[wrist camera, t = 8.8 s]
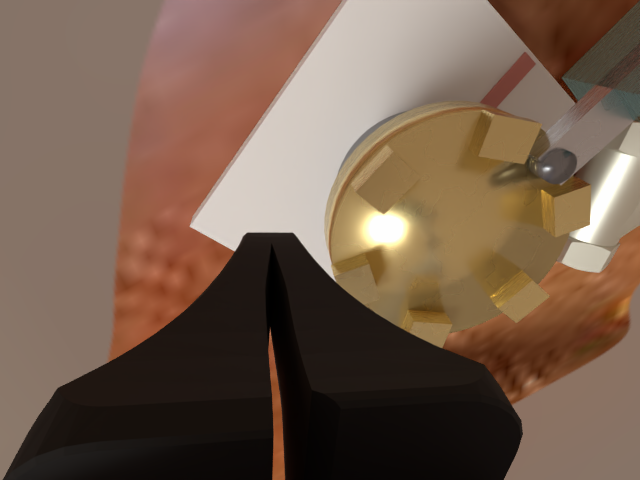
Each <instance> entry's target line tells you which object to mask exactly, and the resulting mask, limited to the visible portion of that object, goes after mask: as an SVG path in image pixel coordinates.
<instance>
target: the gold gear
mask: <svg viewBox="0 0 640 480" xmlns="http://www.w3.org/2000/svg"><path fill="white" fill-rule="evenodd" d="M561 78H562V79H563V80H564V82H565V83H566V85H567V86H568V87H569V89H570V90H571V92H572V93H573V94H574V96H575V97H576V99H577V100H578V102H577V103H576V104H575V105H574V106H573V107H572V108H570V109H569V110H568V111H567V112H566V113H565V114H564V115H563V116H562V117H561V118H560V119H559V120H558V121H557V122H556V123H555V124H554V125H553V126H551V127H550V128H549V129H548V130H547V131H546V132H545V131H544V130H542V129H541V126H542V124H541V123H539V122H536V121H534V120H531V119H529V118H524V117H519V116H515V115H512V114H510V113H508V112H505V111H503V110H500V109H498V108H495V107H493V106H489V105H486V104H482V103H479V102H471V101H443V102H437V103H431V104H427V105H424V106H421V107H417V108H414V109H412V110H409V111H407V112H405V113H403V114H400V115H398V116H396V117H395V118H393V119H391V120H390V121H388V122H386V123H385V124H383V125H382V126H380V127H379V128H378V129H376V130H375V131H374V132H373V133H371V134H370V135H369V136H368V137H367V138H366V139H365V140H364V141H363V142H362V143H361V144H360V145H359V146H358V147H357V148H356V149H355V150H354V151H353V153H352V154H351V155H350V156H349V158H348V159H347V160H346V161H345V163H344V165H343V166H342V168H341V170H340V171H339V173H338V175H337V177H336V179H335V181H334V183H333V186H332V188H331V190H330V194H329V197H328V201H327V204H326V211H325V217H324V233H325V240H326V246H327V249H328V253H329V256H330V259H331V263H332V265H331V268H332V271H333V275H334V278H335V280H336V282H337V283H338V284H339V285H340V286H341V287H342V288H343V289H344V290H345V291H347V292H348V293H349V294H350V295H352V296H353V297H354V298H356V299H357V300H358V301H360V302H361V303H362V304H364V305H365V306H366V307H368V308H369V309H371V310H372V311H374V312H375V313H376V314H378V315H380V316H381V317H383V318H385V319H386V320H388V321H390V322H391V323H393V324H394V325H396V326H398V327H400V328H402V329H403V330H405V331H407V332H409V333H411V334H413V335H415V336H417V337H419V338H421V339H423V340H425V341H427V342H429V343H431V344H433V345H436V346H438V347H440V348H442V347H443V345H444V343H445V341H446V338H447V336H448V334H449V333H452V332H458V331H461V330H464V329H468V328H471V327H474V326H476V325H479V324H481V323H484V322H486V321H488V320H490V319H492V318H494V317H496V316H498V315H500V314H501V313H504V314H506V315H507V316H508V317H509V318H511V319H512V320H513V321H514V322H515V323H517V322H519V321H520V320H521V319H522V318H524V317H525V316H526V315H527V314H529V313H530V312H531V311H532V310H534V309H535V308H536V307H537V306H539V305H540V304H541V303H542V302H544V301H545V300H546V299H547V298H549V297H550V296H549V295H548V294H547V293H546V292H545V291H544V290H543V289H542V288H541V287H540V286H539V285H538V284H539V283H540V281H541V280H542V279H543V278H544V277H545V276H546V274H547V273H548V272H549V271H550V269H551V268H552V267H553V265H554V264H555V262H556V260H557V259H558V257H559V256H560V254H561V252H562V250H563V248H564V246H565V244H566V242H567V240H568V237H569V234H570V232H572V231H575V230H578V229H581V228H584V227H587V226H589V225H590V216H591V184H589V183H587V182H585V181H583V180H581V179H579V178H577V177H575V178H574V174H575V173H576V172H577V171H578V170H579V169H580V168H581V167H583V166H584V165H585V164H586V163H587V162H588V161H589V160H590V159H592V158H593V157H594V156H595V155H596V154H597V153H598V152H599V151H601V150H602V149H603V148H604V147H605V146H606V145H607V144H608V143H610V142H611V141H612V140H613V139H614V138H615V137H616V136H617V135H619V134H620V133H621V132H622V131H623V130H624V129H625V128H626V127H628V126H629V125H630V124H631V123H632V122H633V121H636V122H640V1H639V2H638V3H637V4H636V5H635V6H634V7H633V8H632V9H631V10H629V11H628V12H627V13H626V14H625V15H624V16H623V17H622V18H621V19H620V20H619V21H618V22H617V23H616V24H615V25H614V26H613V27H612V28H611V29H610V30H609V31H608V32H607V33H606V34H605V35H604V36H603V37H602V38H601V39H600V40H599V41H598V42H597V43H596V44H595V45H594V46H593V47H592V48H591V49H590V50H589V51H588V52H587V53H586V54H585V55H584V56H583V57H582V58H581V59H580V60H579V61H578V62H577V63H575V64H574V65H573V66H572V67H571V68H570V69H569V70H568V71H567V72H566V73H565V74H564V75H563V76H562V77H561Z"/></svg>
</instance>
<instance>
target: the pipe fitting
mask: <svg viewBox="0 0 640 480" xmlns="http://www.w3.org/2000/svg"><path fill="white" fill-rule="evenodd" d="M575 177H577V178H579V179H581V180H583V181H585V182H587V183H589V184H591V216H590V225H589V226H587V227H584V228H581V229H578V230H575V231H572V232H570V234H569V237H568V240H567V242H566V244H565V246H564V248H563V250H562V252H561V254H560V256H559V257H558V259H557V260H556V261H558V262H560V263H562V264H564V265H566V266H569V267H572V268H575V269H578V270H582V271H587V272H599V273H600V272H601V271H603V270H604V269H605V268H606V266H607V265H608V264H609V263H610V261H611V259H612V257H613V256H614V254H615V252H616V250H617V249H618V247H619V245H620V243H619V242H618V241H619V240H620V238H621V237H622V236H624V235H625V234H627V233H628V232H630V231H631V230H633V229H635V228H636V227H638V226H639V225H640V122H636V121H633V122H632V123H631V124H630V125H629V126H628V127H626V128H625V129H624V130H623V131H622V132H621V133H620V134H619V135H617V136H616V137H615V138H614V139H613V140H612V141H611V142H610V143H608V144H607V145H606V146H605V147H604V148H603V149H602V150H601V151H599V152H598V153H597V154H596V155H595V156H594V157H593V158H592V159H590V160H589V161H588V162H587V163H586V164H585V165H584V166H583V167H581V168H580V169H579V170H578V171H577V173H576V175H575ZM575 177H574V178H575Z"/></svg>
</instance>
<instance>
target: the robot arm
mask: <svg viewBox="0 0 640 480" xmlns="http://www.w3.org/2000/svg"><path fill="white" fill-rule="evenodd" d="M270 329H271V336H272V343H273V350H274V357H275V363H276V370H277V377H278V383H279V390H280V397H281V407H282V420H283V441H284V463H285V480H504V478H505V476H506V474H507V472H508V470H509V468H510V466H511V463H512V462H513V460H514V457H515V455H516V453H517V451H518V448H519V445H520V440H521V438H522V435H523V432H522V423H521V419H520V418H519V416H518V415H517V413H516V412H515V410H514V408H513V407H512V405H511V403H510V402H509V400H508V398H507V397H506V395H505V394H504V392H503V390H502V389H501V387H500V386H499V384H498V383H497V381H496V380H495V379H494V377H493V376H492V375H491V373H490V372H489V371H488V369H487V368H486V367H485V365H483V364H481V363H478V362H476V361H473V360H470V359H468V358H465V357H463V356H460V355H458V354H455V353H453V352H450V351H448V350H445V349H443V348H440V347H438V346H436V345H433V344H431V343H429V342H427V341H425V340H423V339H421V338H419V337H417V336H415V335H413V334H411V333H409V332H407V331H405V330H403V329H402V328H400V327H398V326H396V325H394V324H393V323H391V322H390V321H388V320H386V319H385V318H383V317H381V316H380V315H378V314H376V313H375V312H374V311H372V310H371V309H369V308H368V307H366V306H365V305H364V304H362V303H361V302H360V301H358V300H357V299H356V298H354V297H353V296H352V295H350V294H349V293H348V292H347V291H345V290H344V289H343V288H342V287H341V286H340V285H339V284H338V283H337V282H335V281H334V280H333V279H332V278H331V277H330V276H329V275H328V274H327V273H326V271H325V270H324V269H323V268H322V267H321V266H320V265H319V264H318V263H317V262H316V260H315V259H314V258H313V257H312V256H311V254H310V253H309V252H308V251H307V249H306V248H305V247H304V246H303V244H302V243H301V242H300V240H299V239H298V237H297V236H296V235H295V234H294V233H279V232H247V233H246V234H245V235H244V236H243V237H242V240H241V242H240V244H239V246H238V247H237V249H236V251H235V252H234V254H233V256H232V257H231V259H230V260H229V261H228V263H227V264H226V266H225V267H224V268H223V270H222V271H221V272H220V274H219V275H218V276H217V277H216V278H215V280H214V281H213V282H212V283H211V284H210V285H209V287H208V288H207V289H206V290H205V291H204V292H203V293H202V294H201V295H200V296H199V297H198V298H197V299H196V300H195V301H194V302H193V303H192V304H191V305H190V306H189V307H188V308H187V309H186V310H185V311H184V312H183V313H181V314H180V315H179V316H178V317H176V318H175V319H174V320H173V321H171V322H170V323H169V324H168V325H166V326H165V327H164V328H162V329H161V330H160V331H158V332H157V333H156V334H154V335H153V336H151V337H150V338H148V339H147V340H145V341H144V342H142V343H141V344H139V345H137V346H136V347H134V348H132V349H131V350H129V351H127V352H126V353H124V354H123V355H121V356H119V357H117V358H116V359H114V360H112V361H110V362H109V363H107V364H105V365H103V366H101V367H99V368H97V369H95V370H93V371H91V372H89V373H87V374H85V375H83V376H81V377H79V378H77V379H75V380H74V381H71V382H69V383H67V384H65V385H63V386H61V387H59V388H58V389H57V390H56V391H55V393H54V395H53V396H52V398H51V399H50V401H49V402H48V403H47V405H46V406H45V408H44V409H43V410H42V412H41V413H40V415H39V416H38V418H37V419H36V421H35V423H34V424H33V426H32V427H31V429H30V431H29V432H28V434H27V436H26V438H25V440H24V442H23V443H22V445H21V447H20V449H19V451H18V453H17V454H16V456H15V458H14V460H13V462H12V464H11V466H10V467H9V469H8V471H7V473H6V475H5V477H4V479H3V480H272V469H273V409H272V391H271V380H270V368H269V355H268V346H269V333H270Z"/></svg>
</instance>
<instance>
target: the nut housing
mask: <svg viewBox="0 0 640 480" xmlns="http://www.w3.org/2000/svg"><path fill="white" fill-rule="evenodd" d="M443 101H471V102H479V103H482V104H486V105H489V106H493V107H495V108H498V109H500V110H503V111H505V112H508V113H510V114H512V115H515V116H519V117H524V118H529V119H531V120H534V121H536V122H539V123H541V124H542V126H541V129H542V130H544V131H545V132H546V131H547V130H548V129H549V128H550V127H551V126H553V125H554V124H555V123H556V122H557V121H558V120H559V119H560V118H561V117H562V116H563V115H564V114H565V113H566V112H567V111H568V110H569V109H570V108H572V107H573V106H574V105H575V104H576V103H575V102H574V101H573V100H572V99H571V98H570V96H569V95H568V94H567V93H566V92H565V91H564V89H563V88H562V87H561V86H560V85H559V84H558V82H557V81H556V80H555V79H554V78H553V77H552V75H551V74H550V73H549V72H548V71H547V70H546V68H545V67H544V66H543V65H542V64H541V63H540V61H539V60H538V59H537V58H536V57H535V55H534V54H533V53H532V52H531V51H530V50H529V48H528V47H527V46H526V45H525V44H524V43H523V41H522V40H521V39H520V38H519V37H518V36H517V34H516V33H515V32H514V31H513V30H512V29H511V27H510V26H509V25H508V24H507V23H506V22H505V20H504V19H503V18H502V17H501V16H500V15H499V13H498V12H497V11H496V10H495V9H494V8H493V6H492V5H491V4H490V3H489V2H488V0H343V1H342V2H341V3H340V5H339V6H338V8H337V9H336V11H335V12H334V13H333V15H332V16H331V18H330V19H329V21H328V22H327V24H326V25H325V26H324V28H323V29H322V31H321V32H320V34H319V35H318V37H317V38H316V39H315V41H314V42H313V44H312V45H311V47H310V48H309V50H308V51H307V52H306V54H305V55H304V57H303V58H302V60H301V61H300V62H299V64H298V65H297V67H296V68H295V70H294V71H293V73H292V74H291V75H290V77H289V78H288V80H287V81H286V83H285V84H284V86H283V87H282V88H281V90H280V91H279V93H278V94H277V96H276V97H275V99H274V100H273V101H272V103H271V104H270V106H269V107H268V109H267V110H266V112H265V113H264V114H263V116H262V117H261V119H260V120H259V122H258V123H257V124H256V126H255V127H254V129H253V130H252V132H251V133H250V135H249V136H248V137H247V139H246V140H245V142H244V143H243V145H242V146H241V148H240V149H239V150H238V152H237V153H236V155H235V156H234V158H233V159H232V161H231V162H230V163H229V165H228V166H227V168H226V169H225V171H224V172H223V173H222V175H221V176H220V178H219V179H218V181H217V182H216V184H215V185H214V186H213V188H212V189H211V191H210V192H209V194H208V195H207V197H206V198H205V199H204V201H203V202H202V204H201V205H200V207H199V208H198V210H197V211H196V212H195V214H194V215H193V218H192V221H191V224H190V227H192V228H194V229H195V230H197V231H199V232H201V233H203V234H204V235H206V236H208V237H210V238H212V239H213V240H215V241H217V242H219V243H221V244H222V245H224V246H226V247H228V248H230V249H232V250H233V251H236V249H237V247H238V246H239V244H240V242H241V240H242V237H243V236H244V235H245V234H246V233H247V232H279V233H294V234H295V235H296V236H297V237H298V239H299V240H300V242H301V243H302V244H303V246H304V247H305V248H306V249H307V251H308V252H309V253H310V254H311V256H312V257H313V258H314V259H315V260H316V262H317V263H318V264H319V265H320V266H321V267H322V268H323V269H324V270H325V271H326V273H327V274H328V275H329V276H330V277H331V278H332V279H333V280H334V281H335V282H336V280H335V278H334V275H333V271H332V268H331V265H332V263H331V259H330V256H329V253H328V249H327V246H326V240H325V233H324V217H325V211H326V204H327V201H328V197H329V194H330V190H331V188H332V186H333V183H334V181H335V179H336V177H337V175H338V173H339V171H340V170H341V168H342V166H343V165H344V163H345V161H346V160H347V159H348V158H349V156H350V155H351V154H352V153H353V151H354V150H355V149H356V148H357V147H358V146H359V145H360V144H361V143H362V142H363V141H364V140H365V139H366V138H367V137H368V136H369V135H370V134H371V133H373V132H374V131H375V130H376V129H378V128H379V127H380V126H382V125H383V124H385V123H386V122H388V121H390V120H391V119H393V118H395V117H396V116H398V115H400V114H403V113H405V112H407V111H409V110H412V109H414V108H417V107H421V106H424V105H427V104H431V103H437V102H443Z"/></svg>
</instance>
